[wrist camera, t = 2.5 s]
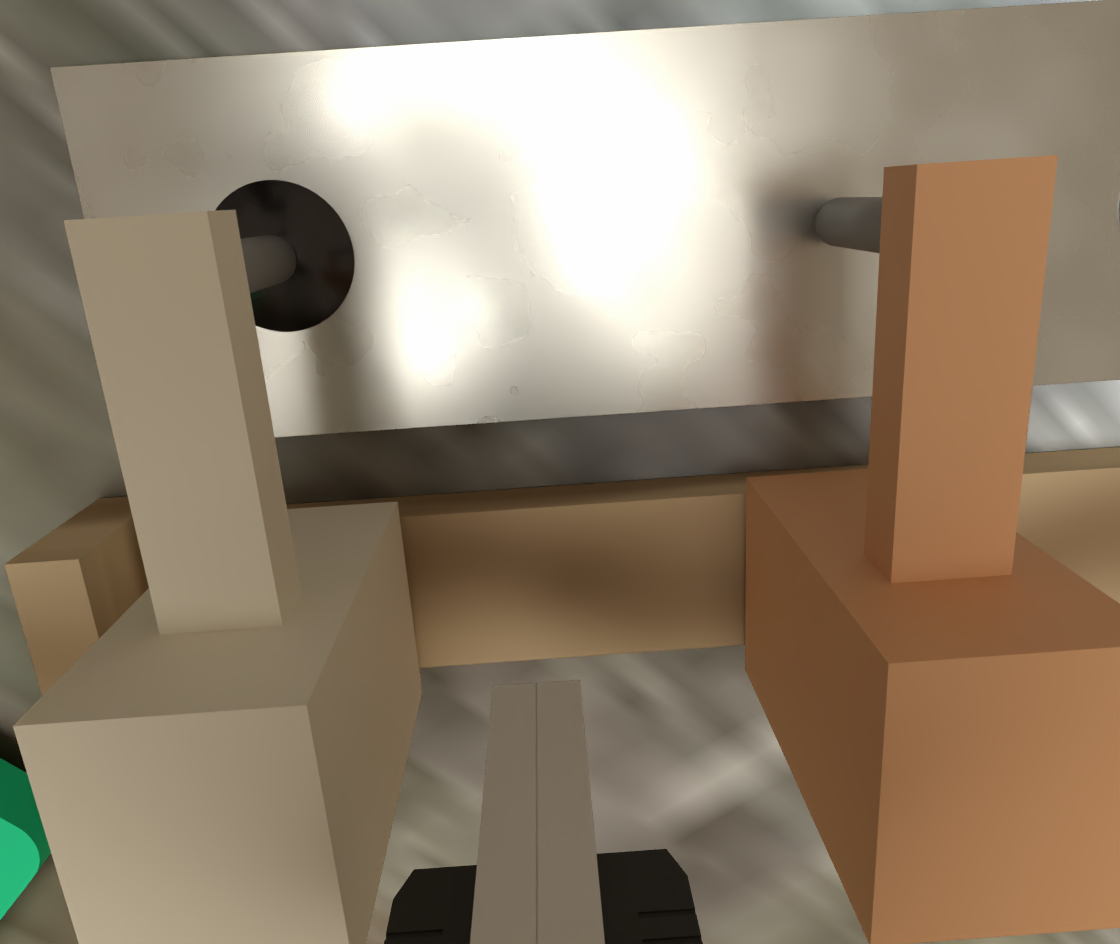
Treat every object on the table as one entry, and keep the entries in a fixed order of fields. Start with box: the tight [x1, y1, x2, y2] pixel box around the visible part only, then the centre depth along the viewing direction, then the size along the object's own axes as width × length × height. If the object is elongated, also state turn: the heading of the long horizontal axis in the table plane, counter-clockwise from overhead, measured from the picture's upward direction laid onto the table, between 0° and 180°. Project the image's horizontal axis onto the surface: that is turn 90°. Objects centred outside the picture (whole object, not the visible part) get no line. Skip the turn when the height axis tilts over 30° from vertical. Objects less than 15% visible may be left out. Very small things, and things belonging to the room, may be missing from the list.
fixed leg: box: [13, 210, 422, 944], centre depth 15 cm, size 12×4×8 cm, turn 4°
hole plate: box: [50, 0, 1120, 437], centre depth 19 cm, size 8×28×1 cm, turn 94°
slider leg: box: [745, 155, 1120, 944], centre depth 15 cm, size 12×4×8 cm, turn 4°
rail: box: [4, 447, 1120, 696], centre depth 20 cm, size 5×32×4 cm, turn 94°
